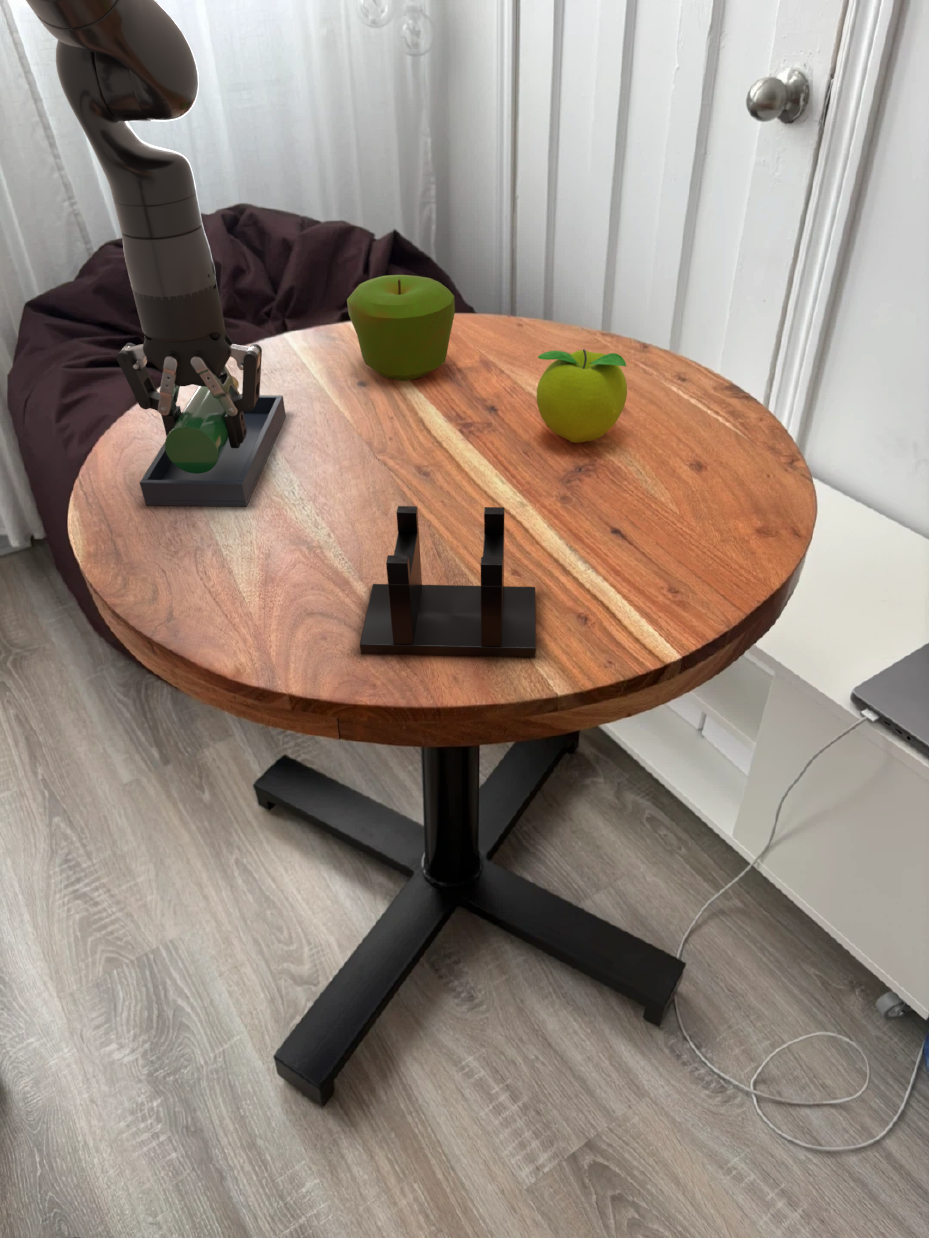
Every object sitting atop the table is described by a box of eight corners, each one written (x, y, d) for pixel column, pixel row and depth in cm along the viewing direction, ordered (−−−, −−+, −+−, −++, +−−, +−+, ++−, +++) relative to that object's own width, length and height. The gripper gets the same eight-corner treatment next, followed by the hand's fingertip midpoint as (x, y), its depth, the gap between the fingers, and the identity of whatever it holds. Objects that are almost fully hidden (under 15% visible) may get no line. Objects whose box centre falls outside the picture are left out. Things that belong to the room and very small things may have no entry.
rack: (360, 653, 74) (349, 562, 68) (373, 592, 80) (364, 504, 74) (535, 657, 73) (539, 566, 67) (535, 595, 79) (538, 506, 74)
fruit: (606, 464, 96) (614, 374, 90) (523, 446, 99) (526, 358, 93) (633, 426, 103) (642, 339, 96) (555, 410, 106) (559, 325, 99)
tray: (246, 506, 91) (242, 483, 90) (145, 505, 92) (139, 482, 90) (286, 416, 106) (282, 395, 104) (198, 415, 106) (194, 394, 105)
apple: (473, 361, 117) (472, 271, 109) (418, 399, 109) (413, 304, 101) (392, 341, 122) (386, 254, 115) (335, 376, 114) (324, 284, 107)
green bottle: (221, 475, 91) (213, 427, 88) (170, 472, 92) (159, 425, 88) (256, 406, 103) (250, 362, 100) (210, 404, 103) (202, 360, 100)
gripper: (81, 293, 82) (128, 462, 92) (240, 293, 81) (270, 463, 92) (110, 264, 87) (152, 426, 98) (260, 264, 87) (285, 427, 97)
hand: (209, 443), depth 95 cm, fingers closed on green bottle, 5 cm apart
